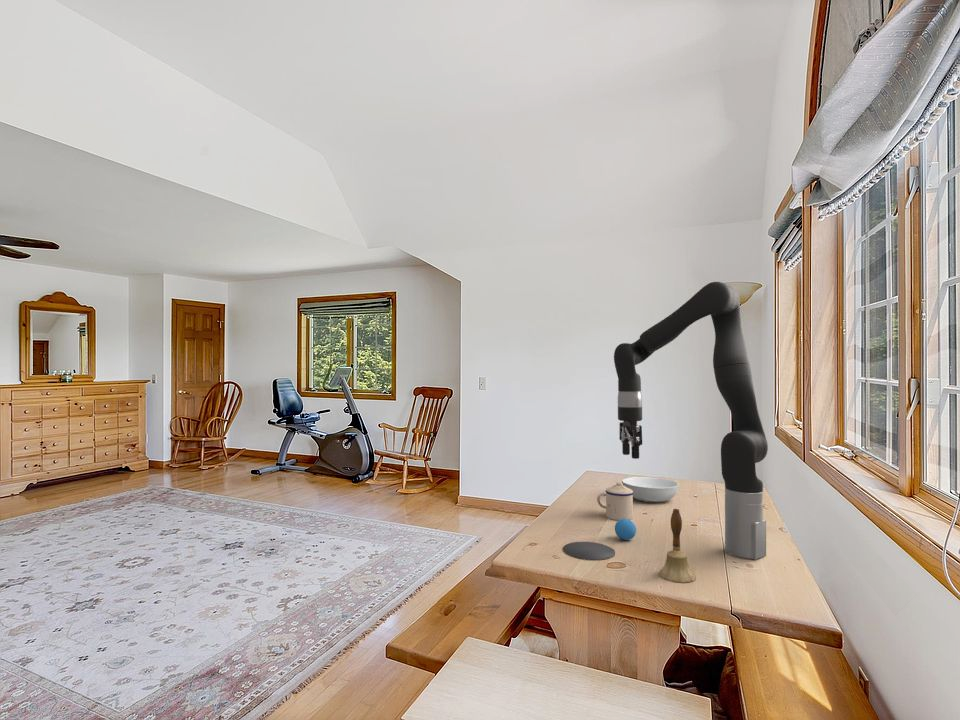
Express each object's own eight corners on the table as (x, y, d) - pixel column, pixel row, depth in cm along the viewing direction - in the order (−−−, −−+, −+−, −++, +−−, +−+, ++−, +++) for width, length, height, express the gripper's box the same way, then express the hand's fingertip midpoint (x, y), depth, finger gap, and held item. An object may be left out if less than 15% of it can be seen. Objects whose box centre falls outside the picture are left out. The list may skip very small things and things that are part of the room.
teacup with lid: (635, 515, 176) (635, 481, 176) (630, 522, 168) (631, 486, 168) (600, 511, 181) (600, 477, 181) (594, 517, 173) (594, 482, 173)
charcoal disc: (626, 552, 139) (626, 552, 139) (591, 564, 131) (591, 563, 131) (586, 539, 151) (586, 538, 151) (552, 548, 142) (552, 548, 142)
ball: (640, 540, 150) (640, 519, 150) (627, 544, 146) (627, 523, 146) (623, 535, 155) (623, 514, 155) (610, 538, 151) (610, 518, 151)
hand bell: (654, 577, 123) (654, 510, 123) (663, 566, 130) (663, 503, 130) (691, 586, 118) (691, 516, 119) (698, 574, 125) (698, 508, 126)
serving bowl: (675, 495, 205) (675, 478, 205) (681, 509, 185) (681, 489, 185) (621, 491, 211) (621, 474, 211) (621, 504, 191) (621, 485, 191)
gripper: (649, 406, 158) (650, 459, 158) (633, 404, 172) (634, 453, 172) (625, 406, 158) (626, 460, 157) (611, 404, 172) (612, 453, 171)
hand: (630, 456), depth 164 cm, fingers open, 8 cm apart
